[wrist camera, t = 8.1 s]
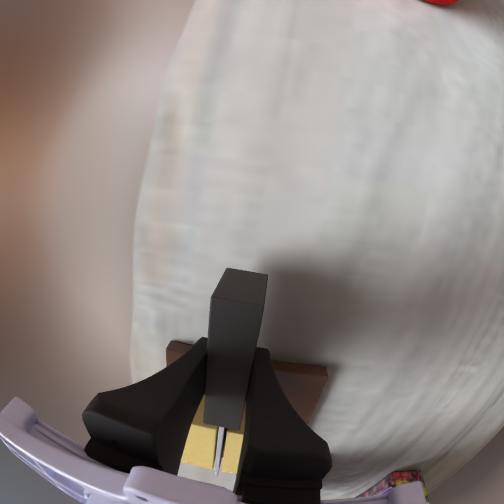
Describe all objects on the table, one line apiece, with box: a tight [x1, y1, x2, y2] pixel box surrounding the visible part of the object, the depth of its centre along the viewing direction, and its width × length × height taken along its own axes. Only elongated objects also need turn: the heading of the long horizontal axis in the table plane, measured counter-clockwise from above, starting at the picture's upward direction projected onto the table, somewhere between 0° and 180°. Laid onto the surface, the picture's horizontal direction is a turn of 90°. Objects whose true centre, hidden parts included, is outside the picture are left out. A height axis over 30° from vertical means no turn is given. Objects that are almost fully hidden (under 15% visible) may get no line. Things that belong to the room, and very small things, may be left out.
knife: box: [203, 268, 268, 476], centre depth 14 cm, size 16×2×3 cm, turn 172°
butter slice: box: [221, 402, 246, 474], centre depth 16 cm, size 6×2×3 cm, turn 172°
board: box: [166, 341, 328, 457], centre depth 17 cm, size 12×10×1 cm
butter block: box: [181, 396, 219, 469], centre depth 16 cm, size 6×4×3 cm, turn 172°
